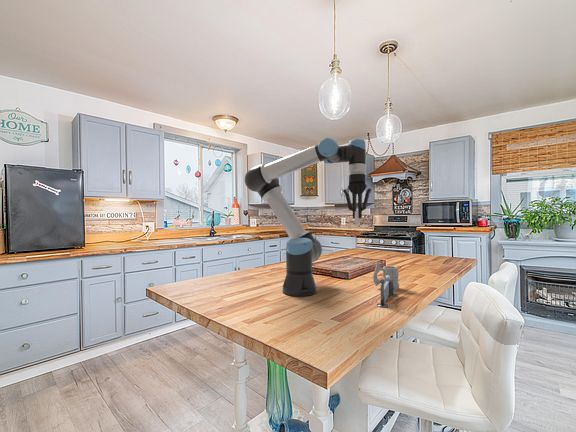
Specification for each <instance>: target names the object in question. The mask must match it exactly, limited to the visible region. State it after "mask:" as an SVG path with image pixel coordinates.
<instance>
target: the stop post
mask: <svg viewBox="0 0 576 432" xmlns="http://www.w3.org/2000/svg"><path fill="white" fill-rule="evenodd" d="M394 292H395V290H394V281H392V280H390V294H389V295H388V297H391V298H392V297H393V298H397V297H398V294H399V293H394Z"/></svg>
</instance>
